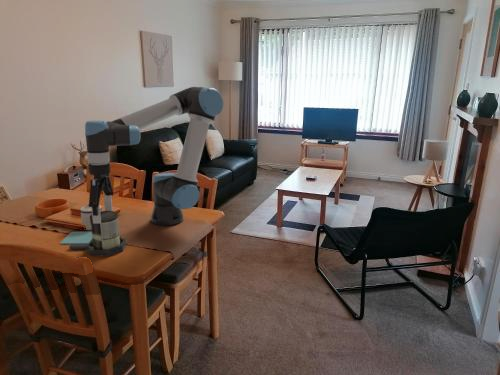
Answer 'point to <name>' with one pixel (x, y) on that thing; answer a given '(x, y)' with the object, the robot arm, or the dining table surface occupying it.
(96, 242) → the coffee can
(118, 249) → the ring
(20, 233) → the dining table surface
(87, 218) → the teacup with lid
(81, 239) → the teal pad
